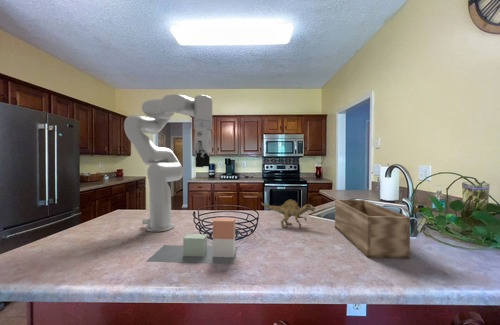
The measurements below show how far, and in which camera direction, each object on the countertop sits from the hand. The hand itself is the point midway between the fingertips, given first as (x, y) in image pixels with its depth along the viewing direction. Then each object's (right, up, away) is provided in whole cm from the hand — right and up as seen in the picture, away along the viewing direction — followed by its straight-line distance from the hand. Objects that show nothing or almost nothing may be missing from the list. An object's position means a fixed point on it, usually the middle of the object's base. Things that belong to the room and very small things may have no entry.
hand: (202, 166), depth 90 cm
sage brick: (+1, -30, -16) cm, 34 cm away
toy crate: (+68, -31, -1) cm, 74 cm away
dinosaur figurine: (+39, -31, +18) cm, 53 cm away
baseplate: (+1, -31, -16) cm, 34 cm away
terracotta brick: (+11, -24, -17) cm, 31 cm away
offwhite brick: (+11, -30, -17) cm, 36 cm away
